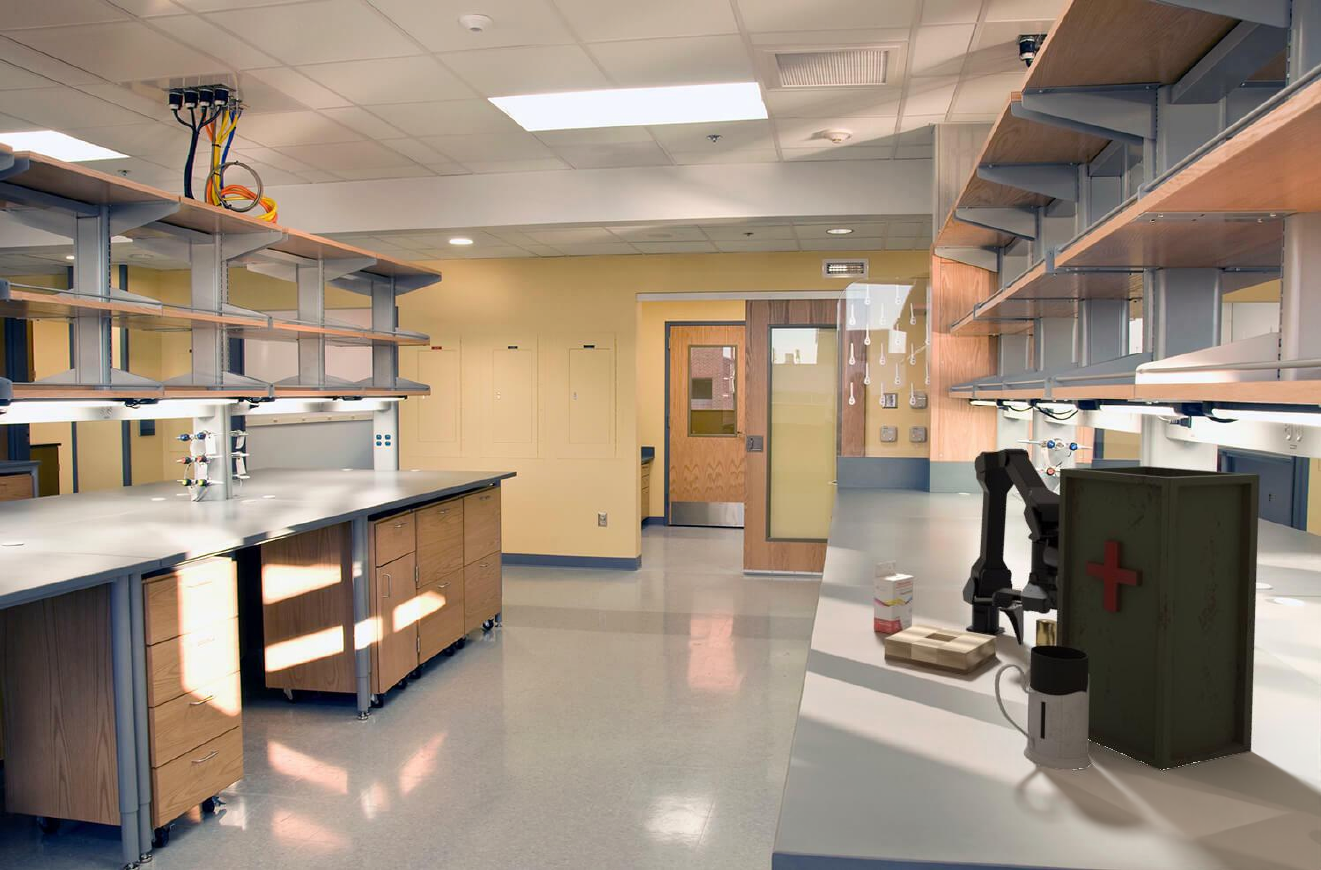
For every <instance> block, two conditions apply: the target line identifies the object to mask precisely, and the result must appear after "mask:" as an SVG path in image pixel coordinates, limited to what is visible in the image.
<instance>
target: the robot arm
mask: <svg viewBox="0 0 1321 870" xmlns="http://www.w3.org/2000/svg"><path fill="white" fill-rule="evenodd" d="M974 470H975V475H976V476H975V478H976V480H977V482H978V484H979V485H980V488H981V489H982V491H983V493H982V510H981V511H982V512H981V513H982V514H981V531H980V544H979V545H980V547H979V548H980V549H979V556H978V557H977V559H976V561H975V562H974V563H973V564H972V566H971V569H970V576H969V577H968V580H967V582H966V584H965V585H964V586H963V590H962V600H963V602H965V603H967V604H969V605H970V606H971V625H969V626H967V627H965V631H967V632H973V633H979V634H985V635H991V636H996V635H998V634H1000V633H1001V632H1003V631H1005V629H1006V627H1004V626H1000V613H1001V612H1002V613H1004V614H1005V615H1006V616H1007V618H1008V619H1009V622H1010V623H1011V627H1012V629H1013V632H1014V635H1015V638H1016V641H1017V643H1018V645H1019V646H1022V645H1023V643H1024V637H1025V636H1024V632H1025V629H1024V628H1025V625H1024V624H1025V622H1024V620H1025V619H1024V618H1025V617H1024V615H1025V612H1027V613H1028V612H1035V613H1039V614H1042V615H1046V614H1048V613H1050V611H1052V610H1054V611H1057V585H1058V540H1059V495H1060V494H1058V493H1057V492H1054V491H1052V490H1050V489H1049V488H1048V487H1047V486H1048V485H1046V483H1045V482H1044V480H1043V479H1042V477H1041V476H1040V474H1039V472H1038V470H1037V469H1036V467H1035V466H1034V464H1033V463H1032V461H1031V460H1030V454H1029V451H1028V450H1026V449H1024V448H1004V449H1000V450H998V451H981V452H980V453H979V454H978V456H975V460H974ZM1014 486H1015V488H1016V490H1017V492H1018V493H1019V495H1020V497H1021V498H1022V501H1023V503H1024V504H1025V507H1024V510H1023V516H1024V521H1025V522H1026V524H1027V526H1028V529H1029V530H1030V532H1031V533H1029V535H1028V536H1027V537H1028V539H1029V540H1031V552H1030V553H1031V556H1030V557H1031V561H1030V572H1029V575H1028V580H1027V583H1026V585H1025V586H1024V588H1023V589H1013V582H1012V575H1013V573H1012V571H1011V569H1009V567H1008V566H1007V564H1006V562H1005V561H1004V554H1005V553H1004V552H1005V551H1004V550H1005V539H1006V538H1005V535H1006V516H1007V503H1008V501H1007V500H1008V493H1009V492H1010V491H1011V489H1012V488H1013V487H1014Z"/></svg>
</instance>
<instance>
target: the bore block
mask: <svg viewBox="0 0 1321 870" xmlns="http://www.w3.org/2000/svg"><path fill="white" fill-rule="evenodd" d="M996 657H997V636H996V635H991V634H985V633H979V632H973V631H967V630H962V629H955V628H954V629H953V628H948V627H942V626H936V625H930V624H924V623H917V624H914V625H912V627H910V628H908V629H905V630H903V631H900V632H896V633H893V634H891V635H890V636H887V637H885V638H884V659H885V660H889V661H894V662H899V663H904V664H909V665H913V666H917V667H918V666H919V667H924V668H929V669H935V670H939V671H944V672H948V673H949V672H950V673H953V674H959V675H965V676H966V675H968V674H969V673H971V672H972V671H975V670H976V669H977V668H980V667H981V666H982V665H984V664H986V663H988V662H989V661H991V660H992V659H994V658H996Z"/></svg>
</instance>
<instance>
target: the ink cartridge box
mask: <svg viewBox="0 0 1321 870" xmlns="http://www.w3.org/2000/svg"><path fill="white" fill-rule="evenodd" d="M886 567H887V568H888V569H887V568H886ZM884 568H886V569H884ZM896 568H897V560H895V559H894V560H890V561H885V562H880V563H877V564H876V568H875V576H874V595H873V596H874V598H873V599H874V600H873V601H874V602H873V630H874V631H878V632H882V633H887V634H889V635H890V634H891V635H894V634H896V633H898V632H901V631H903V630H905V629H908V628H910V627H912V626H913V599H914V596H913V595H914V576H913V575H909V574H903V573H896Z"/></svg>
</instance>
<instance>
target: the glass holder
mask: <svg viewBox="0 0 1321 870" xmlns="http://www.w3.org/2000/svg"><path fill="white" fill-rule="evenodd" d="M1088 664H1089V655H1088V654H1087V653H1086V652H1084V651H1081V650H1078V649H1074V648H1070V647H1064V646H1054V645H1042V646H1036V645H1035V646H1033V647H1031V648H1030V663H1029V665H1030V666H1029V667H1030V670H1029V683H1028V690H1027V683H1026V682H1027V680H1026V675H1025V671H1024V670H1023V669H1022V668H1021V667H1020V666H1019V665H1018V664H1015V663H1006V664H1004V665H1002V666H1001V667H1000V668H998V670H997V672H996V673H995V679H994V692H995V698H996V702H997V705H998V706H999V709H1000V712H1001V713H1002V715H1003V717H1004V718H1005V719H1006V720H1007V721H1008V722H1009V723H1010V724H1011V725H1012V726H1013V727H1014V728H1016V729H1017V730H1018V731H1019V732H1020V733H1022V735H1023V736H1025V737H1026V739H1027V742H1026V747H1025V748H1024V750H1023V756H1024V757H1025V758H1026V759H1028V760H1029V761H1031V762H1032V761H1033V762H1032V763H1034V762H1035V763H1034V764H1037V763H1038V764H1037V765H1039V764H1040V766H1042V765H1043V767H1046V768H1050V769H1055V768H1059V769H1058V770H1062V769H1079V768H1085V769H1087V768H1089V767H1090V766H1091V765H1092V759H1091V757H1090V755H1089V740H1088V725H1089V682H1090V679H1089V673H1088ZM1012 667H1013V668H1015V669H1017V671H1018V672H1019V674H1020V680H1021V681H1020V682H1021V684H1020V686H1021V689H1022V691H1023V692H1024V693H1026V694H1028V700H1027V701H1028V702H1027V703H1028V704H1027V732H1026V731H1025V730H1024V729H1022V727H1020V726H1019V725H1017V723H1016V722H1015V721H1013V719H1011V717H1010V716H1009V715H1008V713H1007V711H1006V709H1005V707H1004V705H1003V702H1002V698H1001V695H1000V694H1001V692H1000V679H1001V676H1002V673H1003V672H1004V671H1005V670H1007V669H1008V668H1012ZM1090 764H1091V765H1090ZM1089 765H1090V766H1089ZM1088 766H1089V767H1088ZM1086 767H1087V768H1086Z"/></svg>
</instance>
